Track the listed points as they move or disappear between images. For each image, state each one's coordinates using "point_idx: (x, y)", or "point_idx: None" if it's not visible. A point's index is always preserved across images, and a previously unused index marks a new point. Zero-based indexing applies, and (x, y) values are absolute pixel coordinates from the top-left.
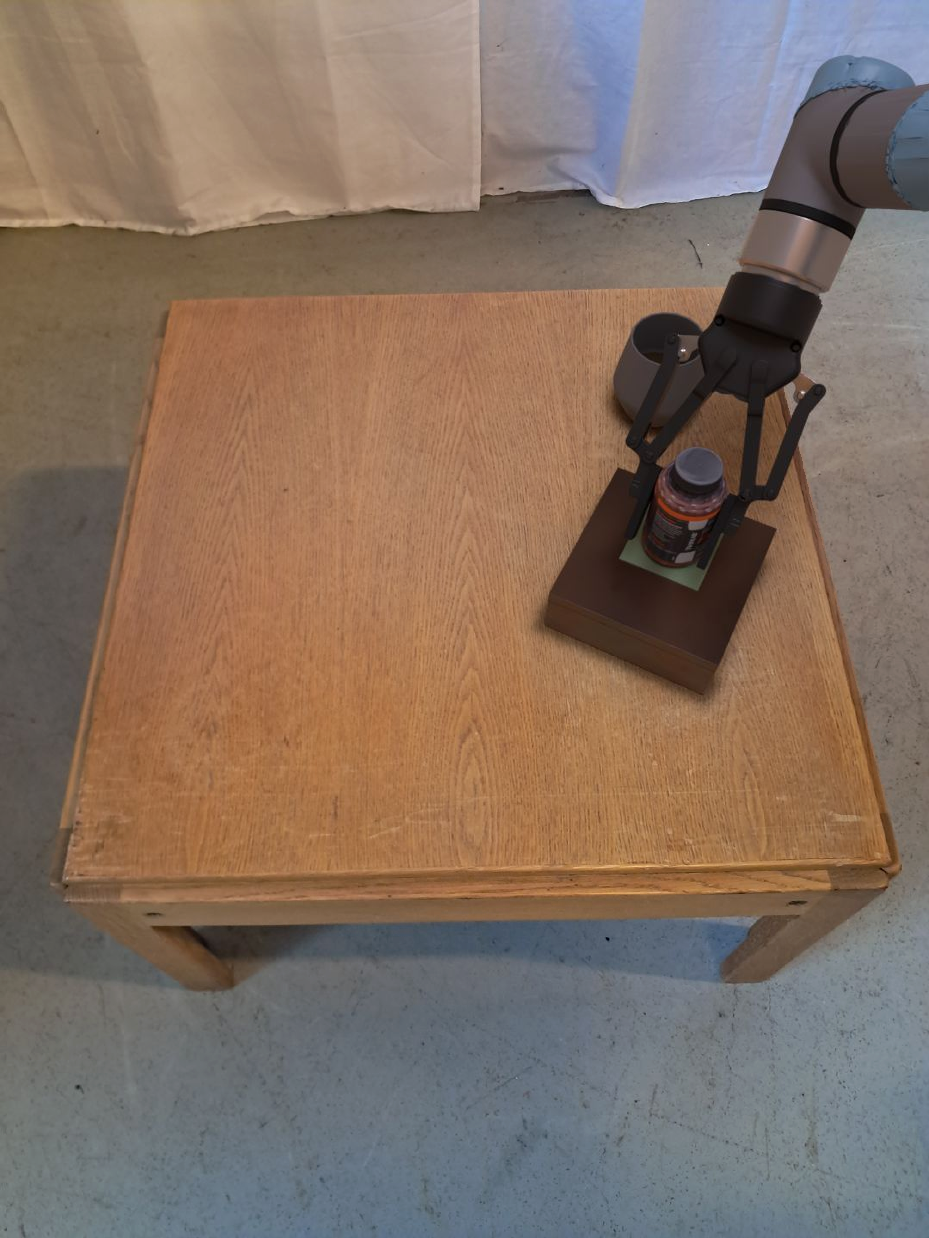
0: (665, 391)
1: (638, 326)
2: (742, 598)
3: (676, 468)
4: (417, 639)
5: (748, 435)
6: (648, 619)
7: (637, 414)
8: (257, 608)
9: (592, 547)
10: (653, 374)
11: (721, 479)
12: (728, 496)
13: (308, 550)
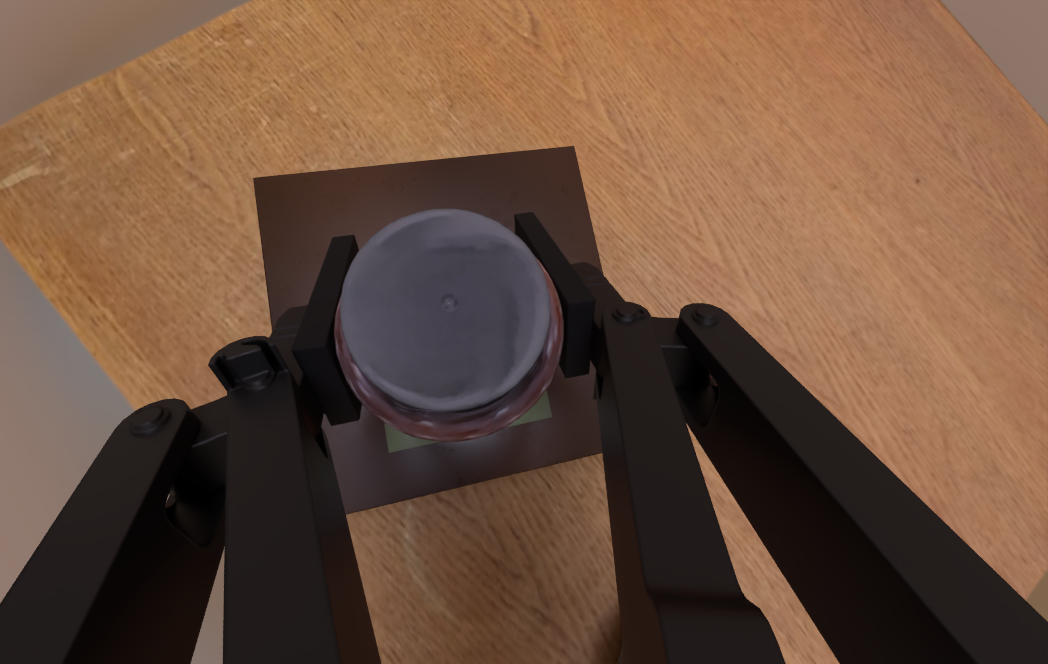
0: (811, 532)
1: None
2: None
3: (517, 238)
4: (660, 98)
5: (302, 576)
6: (410, 191)
7: (788, 373)
8: (817, 40)
9: (571, 260)
10: None
11: (376, 389)
12: (319, 343)
13: (836, 128)
